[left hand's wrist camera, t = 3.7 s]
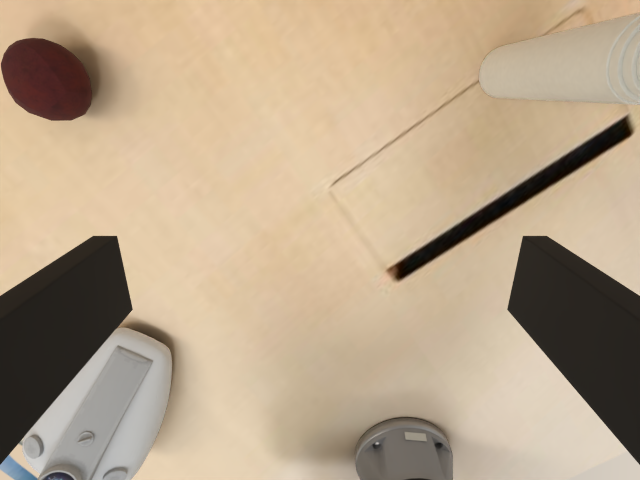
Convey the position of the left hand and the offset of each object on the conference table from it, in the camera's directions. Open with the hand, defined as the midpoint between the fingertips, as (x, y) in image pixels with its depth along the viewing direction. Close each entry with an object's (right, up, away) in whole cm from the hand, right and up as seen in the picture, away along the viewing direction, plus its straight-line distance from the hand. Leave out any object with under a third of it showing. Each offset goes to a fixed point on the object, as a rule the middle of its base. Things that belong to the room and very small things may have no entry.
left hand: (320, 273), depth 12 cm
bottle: (+20, +19, +28) cm, 39 cm away
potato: (-27, +18, +29) cm, 43 cm away
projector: (-30, -20, +44) cm, 57 cm away
